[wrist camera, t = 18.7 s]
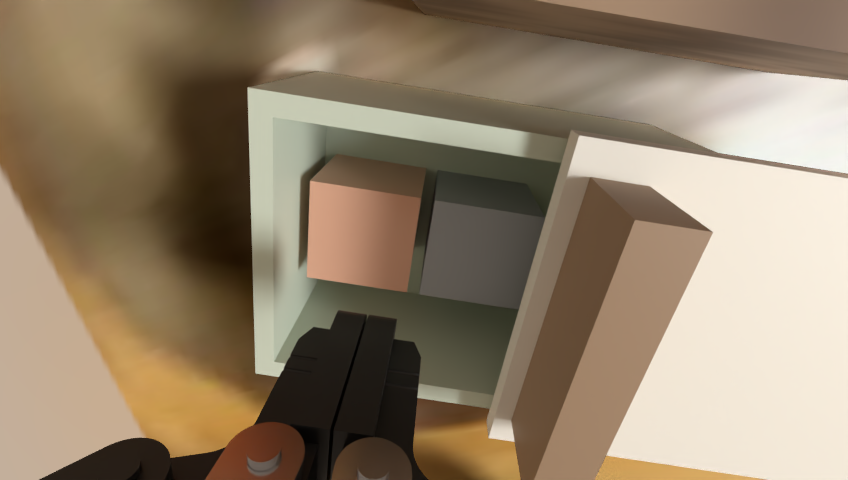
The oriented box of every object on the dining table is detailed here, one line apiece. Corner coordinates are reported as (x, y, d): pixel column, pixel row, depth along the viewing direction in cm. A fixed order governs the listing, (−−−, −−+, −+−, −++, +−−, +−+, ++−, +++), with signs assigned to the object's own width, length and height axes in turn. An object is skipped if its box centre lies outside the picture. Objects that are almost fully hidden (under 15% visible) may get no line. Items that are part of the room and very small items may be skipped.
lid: (1112, 216, 12) (1387, 288, 8) (876, 478, 16) (989, 594, 13) (570, 129, 12) (622, 166, 8) (486, 420, 16) (497, 522, 13)
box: (649, 124, 18) (755, 168, 12) (577, 321, 23) (627, 429, 16) (317, 71, 18) (247, 87, 12) (309, 280, 23) (255, 373, 16)
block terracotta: (426, 167, 19) (421, 198, 15) (414, 248, 21) (406, 292, 17) (336, 153, 19) (310, 180, 15) (331, 235, 21) (306, 276, 17)
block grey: (526, 184, 19) (545, 217, 15) (506, 262, 21) (518, 309, 17) (437, 169, 19) (434, 200, 15) (424, 249, 21) (419, 294, 17)
